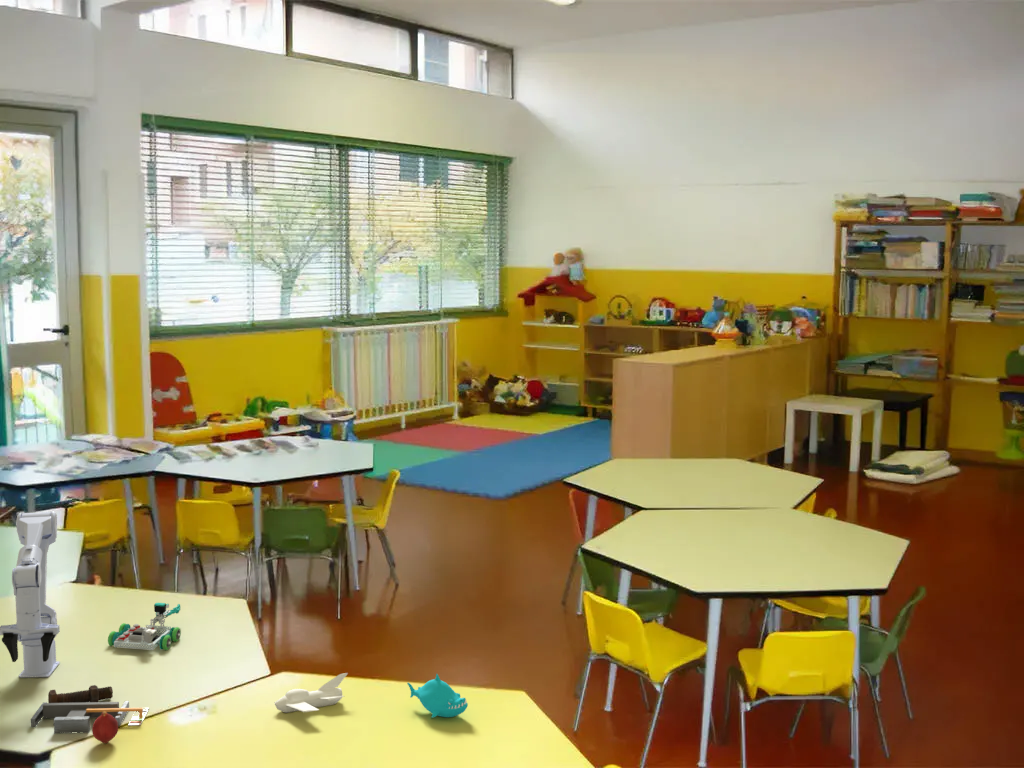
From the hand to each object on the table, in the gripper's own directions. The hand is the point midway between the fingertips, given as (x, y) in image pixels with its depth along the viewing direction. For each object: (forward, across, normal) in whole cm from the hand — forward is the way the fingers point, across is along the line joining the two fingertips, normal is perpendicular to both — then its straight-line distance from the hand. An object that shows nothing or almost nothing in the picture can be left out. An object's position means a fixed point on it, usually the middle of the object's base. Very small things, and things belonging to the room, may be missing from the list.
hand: (30, 660), depth 271 cm
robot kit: (+10, +22, +38) cm, 45 cm away
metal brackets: (+9, +19, -16) cm, 26 cm away
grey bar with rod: (+9, +20, -16) cm, 27 cm away
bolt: (+10, +14, -7) cm, 19 cm away
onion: (+10, +26, -27) cm, 39 cm away
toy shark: (+10, +105, -15) cm, 106 cm away
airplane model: (+10, +73, -10) cm, 74 cm away
